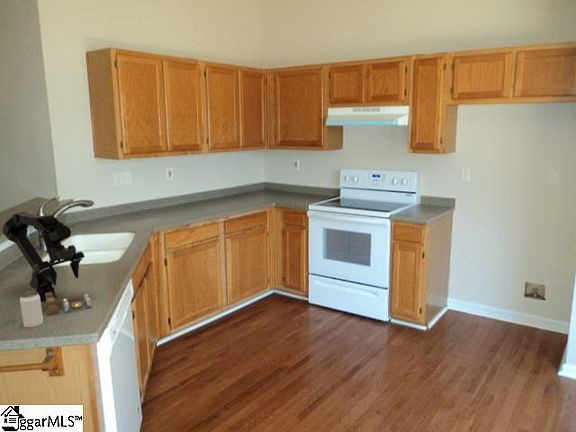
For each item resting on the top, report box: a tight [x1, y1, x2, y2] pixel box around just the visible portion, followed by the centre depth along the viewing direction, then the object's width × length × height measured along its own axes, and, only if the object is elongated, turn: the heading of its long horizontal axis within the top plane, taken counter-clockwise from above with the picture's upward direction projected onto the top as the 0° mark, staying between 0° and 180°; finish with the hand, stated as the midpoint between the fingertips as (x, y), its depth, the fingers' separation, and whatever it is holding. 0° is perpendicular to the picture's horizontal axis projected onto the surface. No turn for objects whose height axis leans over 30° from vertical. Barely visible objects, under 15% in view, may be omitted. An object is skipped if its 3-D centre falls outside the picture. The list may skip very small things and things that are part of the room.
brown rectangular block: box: [45, 292, 60, 317], centre depth 183 cm, size 12×4×6 cm, turn 32°
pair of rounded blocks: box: [61, 293, 92, 314], centre depth 184 cm, size 10×6×4 cm, turn 122°
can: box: [19, 290, 44, 328], centre depth 170 cm, size 6×6×12 cm
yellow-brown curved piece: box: [71, 301, 83, 309], centre depth 185 cm, size 4×4×2 cm
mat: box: [61, 299, 93, 315], centre depth 187 cm, size 10×12×1 cm
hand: (66, 281), depth 185 cm, fingers open, 9 cm apart
